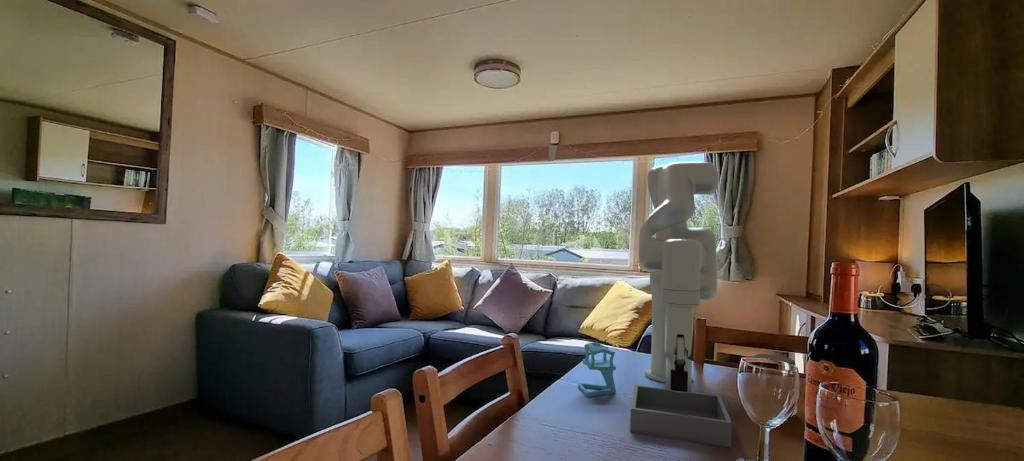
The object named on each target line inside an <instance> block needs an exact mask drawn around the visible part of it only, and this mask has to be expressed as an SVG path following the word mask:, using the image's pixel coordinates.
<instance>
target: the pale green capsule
mask: <svg viewBox="0 0 1024 461" xmlns="http://www.w3.org/2000/svg"><path fill="white" fill-rule="evenodd" d="M676 359H677V358H675V360H676ZM692 369H693V360H692V359H690V358H687V371H688V391H687V392H681V391H673V390H671V388H670V384H671V370H672V357H667V358H666V383H665V389H668V390H670V391H673V392H678V393H689V392H692V382H693V381H692V376H693V373H692V372H693V370H692ZM691 381H692V382H691Z"/></svg>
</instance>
